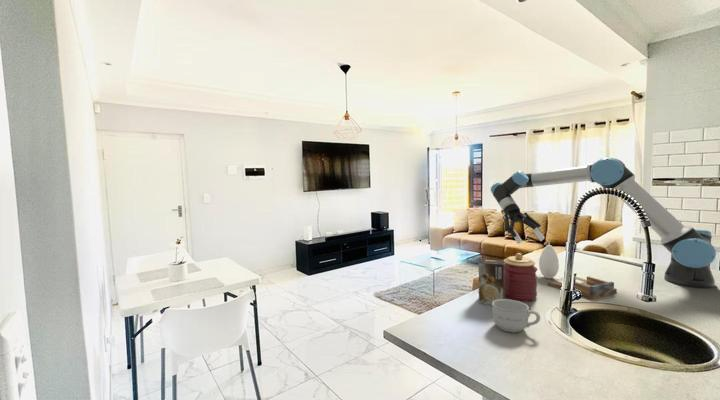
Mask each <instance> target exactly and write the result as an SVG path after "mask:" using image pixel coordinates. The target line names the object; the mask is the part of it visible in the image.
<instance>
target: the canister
mask: <svg viewBox="0 0 720 400" xmlns="http://www.w3.org/2000/svg"><path fill="white" fill-rule="evenodd" d="M503 263H504V298H505V299H508V300H515V301H519V302H522V303H524V302H532V301H535V300H536V299H537V296H538V294H537V293H538V291H537V287H538V286H537V284H538V283H537V279H538V276H537V271H538V268H537V267H536V266H535V265H536V262H535V261H533V260H532V259H531V258H529V257H525V256H523V254H522V253H520V252H517V253H516V254H515V255H512V256H508V257H506V258H504V259H503Z"/></svg>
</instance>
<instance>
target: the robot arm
mask: <svg viewBox="0 0 720 400" xmlns="http://www.w3.org/2000/svg"><path fill="white" fill-rule="evenodd" d="M635 179H636V175H635V174H634V173H633V172H632V171H631V170H630V169H629V168H628V167H626V164H625V163H624V162H623V161H622V160H620V159H618V158H613V157H602V158H600V159H598V160H597V161H595V162H590V163H588V164H587V165H583V166H581V165H580V166H577V167H576V166H575V167H574V166H573V167H569V168H567V167H566V168H561V169H552V170H546V171H538V172H532V173H531V172H530V173H525V172H523V171H522V170H517V171H516V172H515V173H513V174H512V175H511V176H510V177H509V178H507V179H506V180H505V181H503V182H500V181H499V182H495V183H494V184H492V185H491V187H490V192H491V194H492V196H493V197H494V199H495V201H496V202H497V203H498V205H499V207H500V208H501V210H502V211H503V213H504V214H503V216H502V220H503V225H504V232H505V233H506V232H507V233H508V234H510V235H511V236H512V238H514V239H515V241H516V244H520V243H521V242H522V241H523V240H522V238H521V237H520V234H518V232H517V230H516V229H514V228H515V224H517V223H521V224H524V225H526V226H527V227H529V228H531V229H532V230H533V233H534V234H535V235H536V237H537V239H538V240H539V241H540V242H542V241H543V240H545V236H544V234H543V233H542V231H541V230H540V227H541V224H540V223H539V222H538V221H536V220H535V218H532V217H531V216H530V215H529V214H528V213H527V212H524V213H522V212H521V208H520V207H519V205H518V204H517V202H516V201H515V200H514V198H513V196H512V195H513V194H514V193H515V192H517V191H518V190H519V189H523V188H533V187H540V186H541V187H544V186H551V185H553V186H554V185H562V184H571V183H582V182H590V183H596V184H598V185H599V186H601V187H602V188H603V189H604V188H614V189H617V190H621V191H623V192H625V193H626V194H628V195H630V196H631V197H633V198H634V199H635V200H636V201H637V202H638V203H639V204H640V205H641V206H642V208H643V209H644V211H645V213H646V215H647V217H648V219H649V221H650V223H651V226H650V227H649V228H651V230H653V231H654V233H656V234H657V235H658V236H659V238H660V244H661V245H662V246H663V247H664V249H666V250H667V251H668V253H670V262H669V264H668V266H667V268H666V269H665V272H664V275H663V276H664V280H666V281H668V282H670V283H673V284H676V285H681V286H686V287H692V288H693V287H694V288H702V289H703V288H705V289H709V288H714V287H715V284H716V281H715V277H714V275H713V272H712V270H711V267H710V265H711V264H712V263H713V262H714V261H715V258H716V255H717V252H716V249H715V247H714V245H713V244H712V238H713V236H712V232H711V231H710V230H705V229H695V228H694V227H692V226H690V225H689V226H688V225H684V224H683V223H682V222H680V220H679V219H677V218H676V217H675V216H674V215H673V214H672V213H671V212H669V211H668V210H667V209H666V208H665V207H664V206H663V204H661V203H660V202H658V201H657V200H656V198H654V197H653V196H652V194H650V193H649V192H648V191H647V190H646V189H644V188H643V187H642V186H641V184H639V183H638V182H637V181H636V180H635ZM619 199H620V200H621V201H622V202H623V203H624V204H625V205H627V207H629V208H630V209H631V210H632V212H633V213H635V215H637V213H636V211H635V210H634V208H633V207H632V206H631V205H630V204H629V203H628V202H626V201H625V200H623V199H622V198H619Z"/></svg>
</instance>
